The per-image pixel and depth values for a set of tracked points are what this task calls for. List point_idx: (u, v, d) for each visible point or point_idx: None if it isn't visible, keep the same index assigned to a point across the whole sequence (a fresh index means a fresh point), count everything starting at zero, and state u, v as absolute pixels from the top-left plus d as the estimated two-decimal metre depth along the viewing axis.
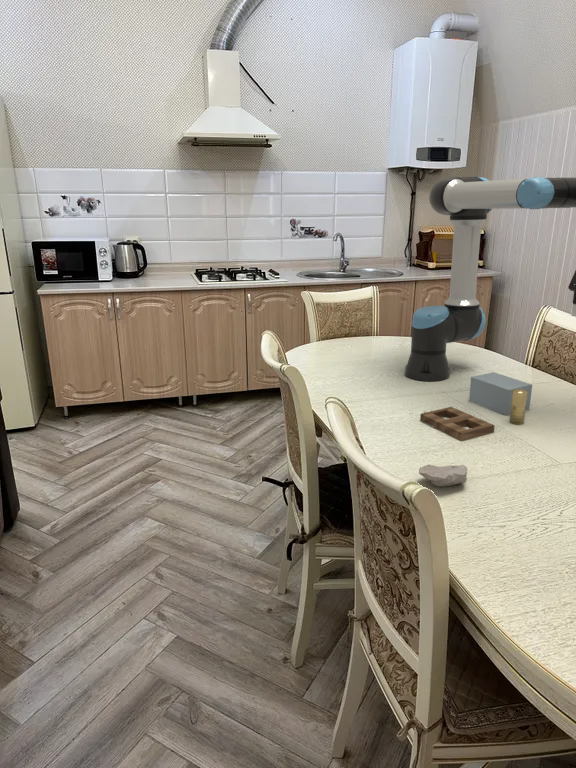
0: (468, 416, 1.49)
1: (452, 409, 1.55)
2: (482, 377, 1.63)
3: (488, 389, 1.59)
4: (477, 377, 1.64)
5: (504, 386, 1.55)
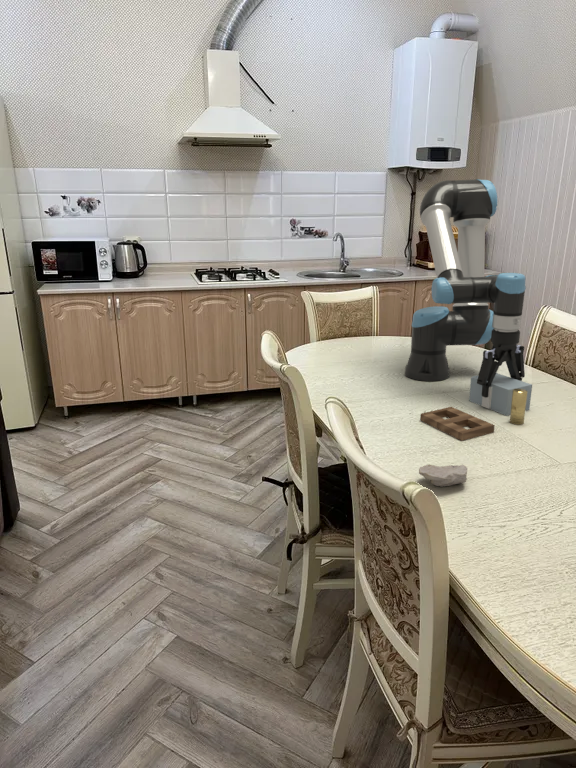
0: (468, 416, 1.49)
1: (452, 409, 1.55)
2: None
3: None
4: (477, 377, 1.64)
5: (504, 386, 1.55)
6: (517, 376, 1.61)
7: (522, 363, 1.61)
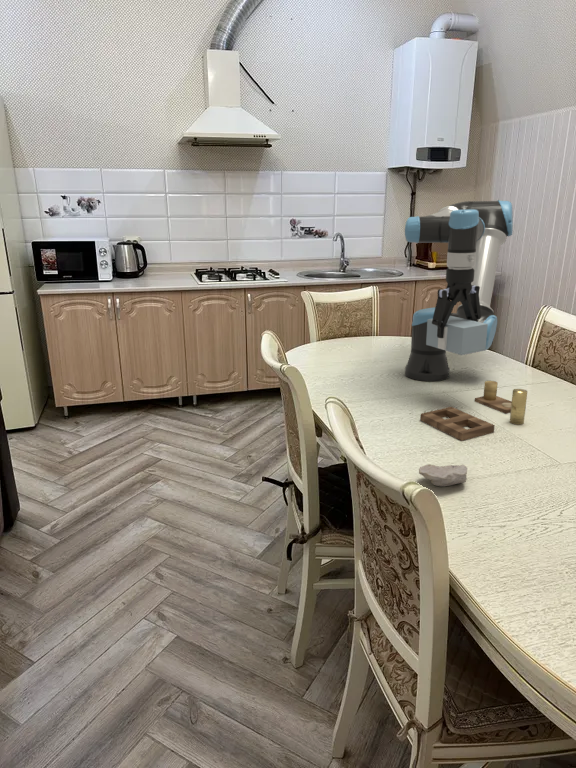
0: (468, 416, 1.49)
1: (452, 409, 1.55)
2: None
3: None
4: None
5: (459, 325, 1.53)
6: (473, 317, 1.59)
7: (478, 303, 1.59)
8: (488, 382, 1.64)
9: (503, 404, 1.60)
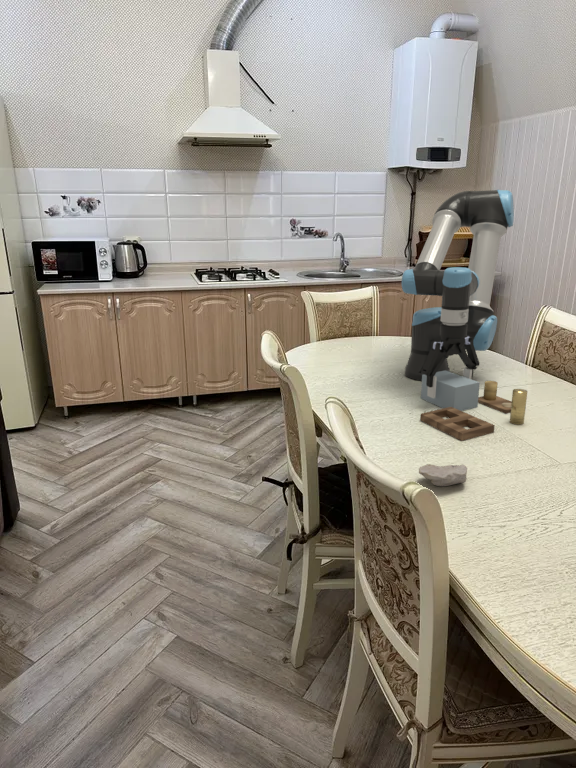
0: (468, 416, 1.49)
1: (452, 409, 1.55)
2: None
3: (437, 387, 1.62)
4: None
5: (452, 384, 1.58)
6: (471, 365, 1.64)
7: (475, 352, 1.63)
8: (488, 382, 1.64)
9: (503, 404, 1.60)
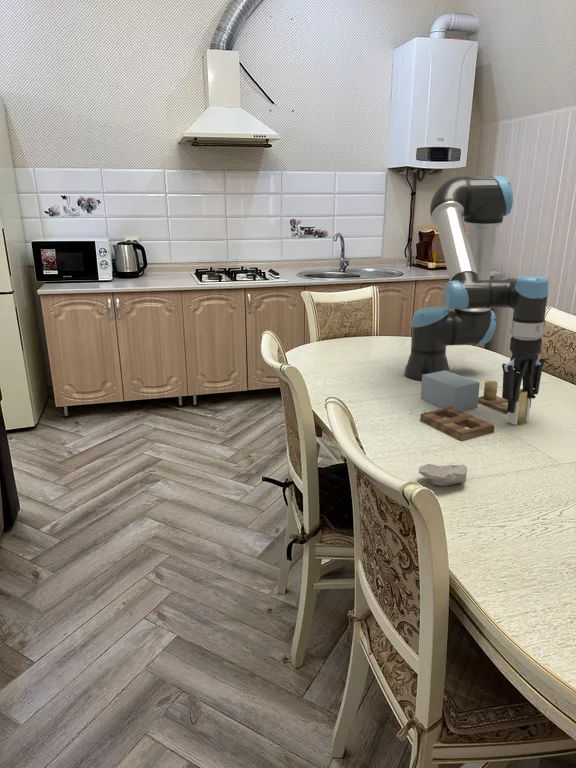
0: (468, 416, 1.49)
1: (452, 409, 1.55)
2: (432, 375, 1.66)
3: (437, 387, 1.62)
4: (428, 375, 1.66)
5: (452, 384, 1.58)
6: (531, 392, 1.47)
7: (539, 377, 1.47)
8: (488, 382, 1.64)
9: (503, 404, 1.60)
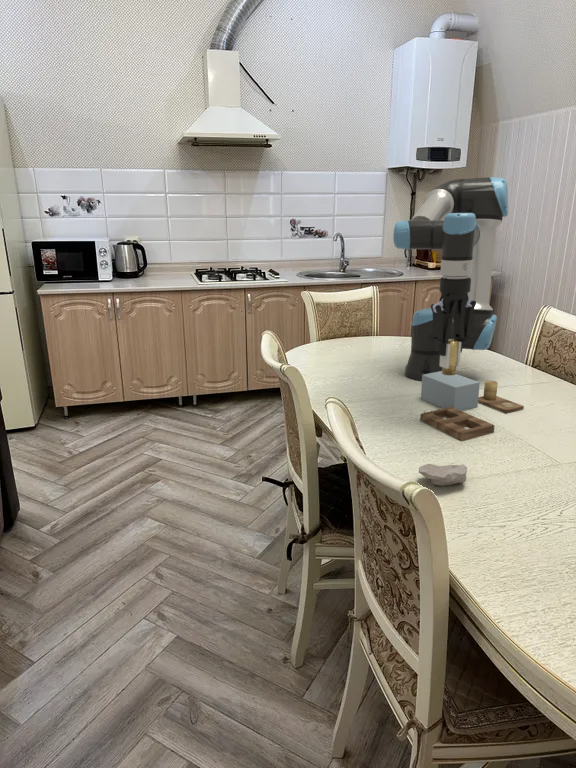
0: (468, 416, 1.49)
1: (452, 409, 1.55)
2: (432, 375, 1.66)
3: (437, 387, 1.62)
4: (428, 375, 1.66)
5: (452, 384, 1.58)
6: (462, 335, 1.44)
7: (470, 320, 1.44)
8: (488, 382, 1.64)
9: (503, 404, 1.60)
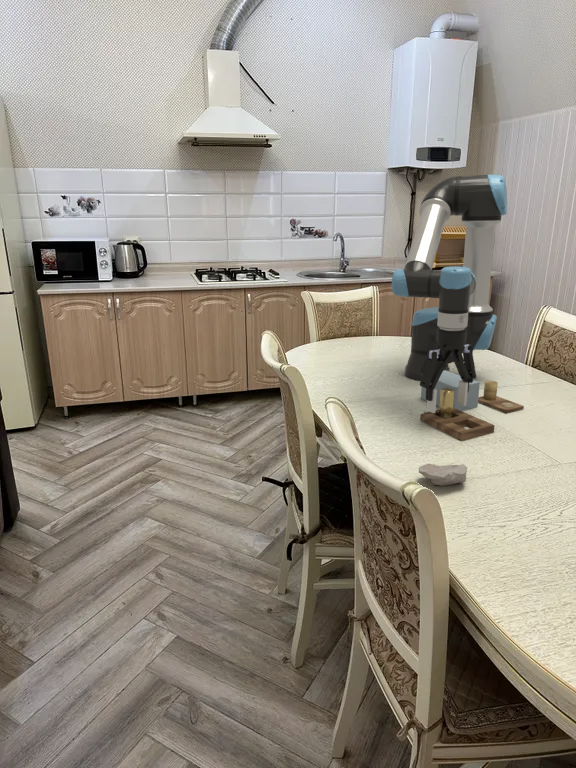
0: (468, 416, 1.49)
1: None
2: None
3: (437, 387, 1.62)
4: None
5: (452, 384, 1.58)
6: (467, 377, 1.49)
7: (473, 363, 1.49)
8: (488, 382, 1.64)
9: (503, 404, 1.60)
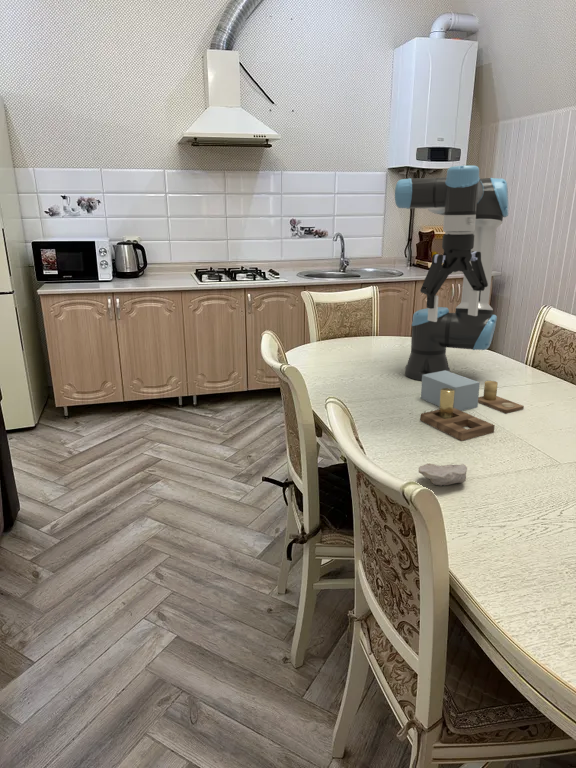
0: (468, 416, 1.49)
1: None
2: (432, 375, 1.66)
3: (437, 387, 1.62)
4: (428, 375, 1.66)
5: (452, 384, 1.58)
6: (478, 285, 1.42)
7: (482, 270, 1.41)
8: (488, 382, 1.64)
9: (503, 404, 1.60)
